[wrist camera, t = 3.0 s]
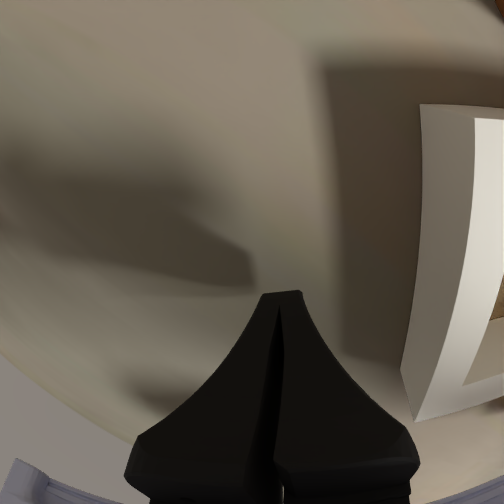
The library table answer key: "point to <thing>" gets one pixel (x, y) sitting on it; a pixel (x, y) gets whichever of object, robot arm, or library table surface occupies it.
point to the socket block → (457, 264)
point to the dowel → (500, 6)
